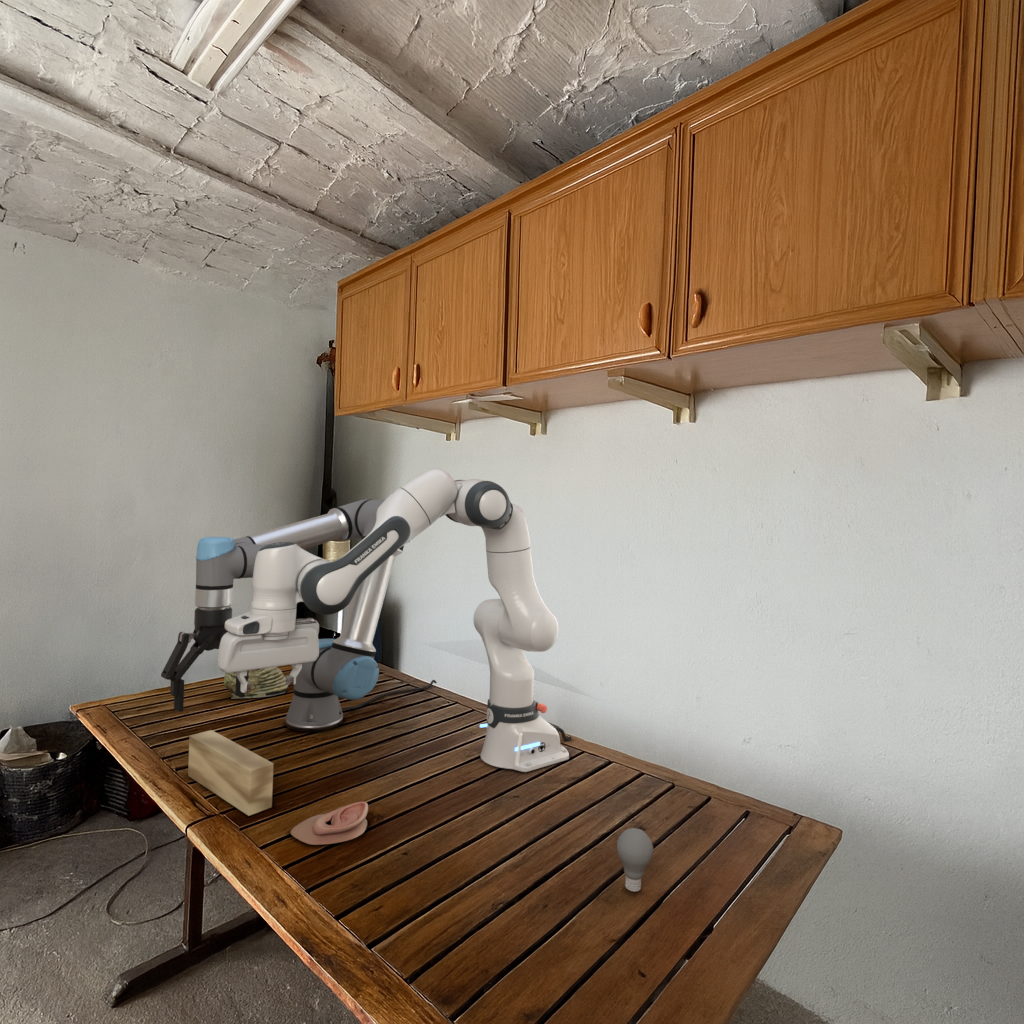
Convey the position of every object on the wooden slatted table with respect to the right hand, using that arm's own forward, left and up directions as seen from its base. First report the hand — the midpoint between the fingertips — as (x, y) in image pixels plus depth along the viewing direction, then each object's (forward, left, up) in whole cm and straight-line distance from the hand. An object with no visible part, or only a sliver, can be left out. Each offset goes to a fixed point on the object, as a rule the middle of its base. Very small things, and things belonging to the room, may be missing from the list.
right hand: (268, 688), depth 130 cm
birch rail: (+6, -8, -24) cm, 26 cm away
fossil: (-5, -74, -24) cm, 77 cm away
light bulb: (-52, +54, -24) cm, 79 cm away
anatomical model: (-10, +16, -24) cm, 30 cm away
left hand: (+10, -16, -7) cm, 21 cm away
